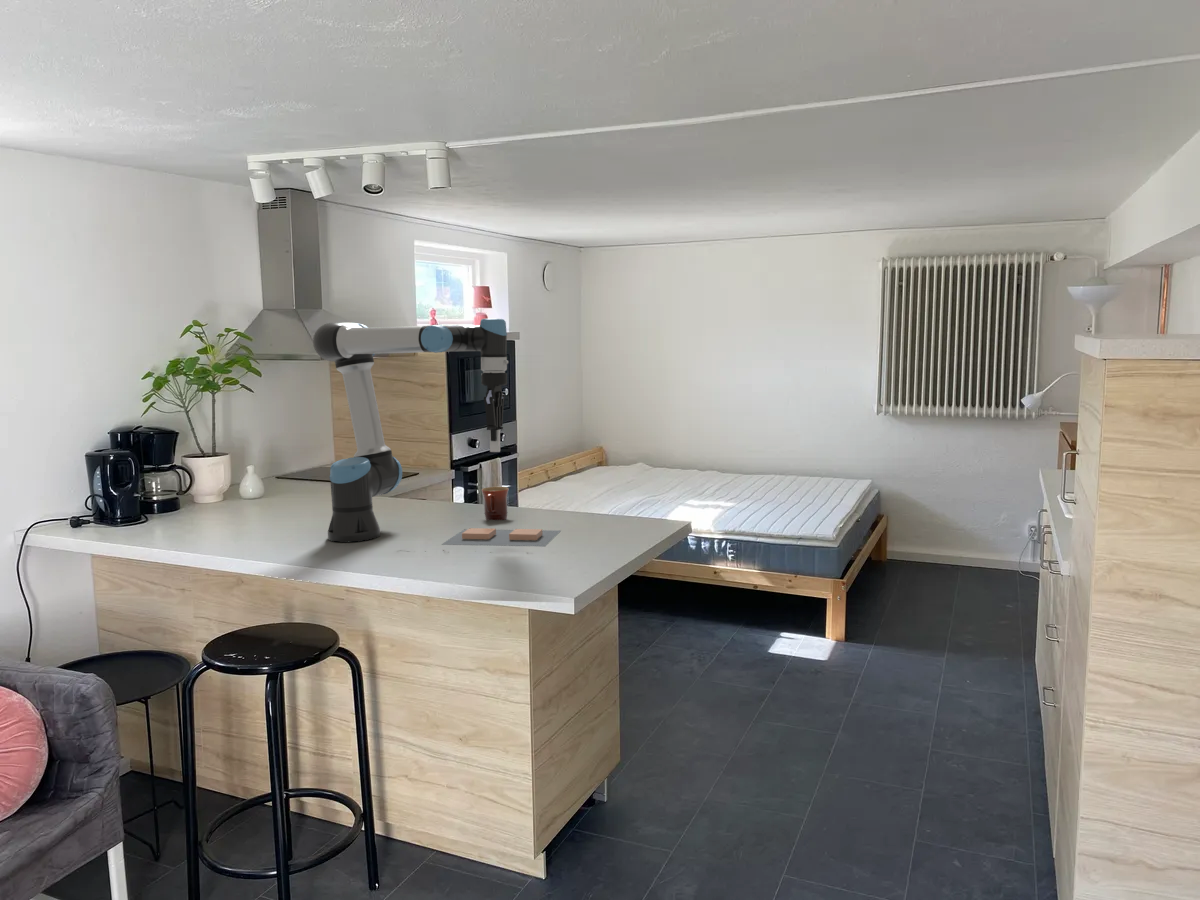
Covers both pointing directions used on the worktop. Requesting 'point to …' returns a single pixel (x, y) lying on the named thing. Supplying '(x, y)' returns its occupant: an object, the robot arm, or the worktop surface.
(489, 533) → the tile
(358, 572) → the worktop surface
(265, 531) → the worktop surface
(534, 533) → the tile
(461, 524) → the worktop surface
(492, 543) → the mat
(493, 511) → the mug
